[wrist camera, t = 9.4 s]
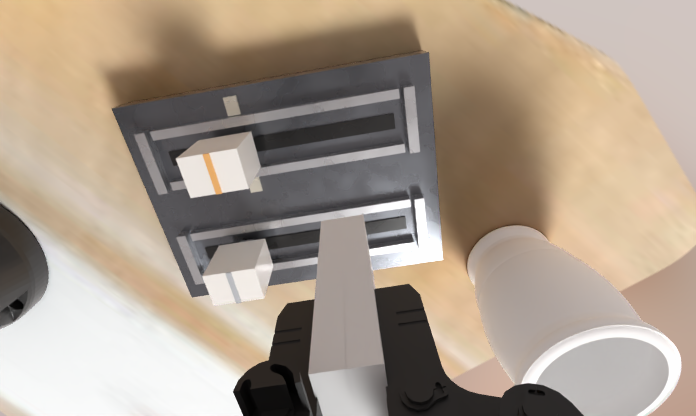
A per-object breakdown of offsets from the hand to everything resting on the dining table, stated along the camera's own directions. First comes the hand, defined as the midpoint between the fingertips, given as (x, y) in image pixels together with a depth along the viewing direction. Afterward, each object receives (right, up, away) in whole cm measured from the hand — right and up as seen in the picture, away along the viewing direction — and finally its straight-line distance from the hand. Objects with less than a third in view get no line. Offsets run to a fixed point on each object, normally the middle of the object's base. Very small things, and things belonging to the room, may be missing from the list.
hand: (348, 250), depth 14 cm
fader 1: (-9, +6, +16) cm, 19 cm away
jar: (+16, -4, +25) cm, 30 cm away
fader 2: (-9, -2, +20) cm, 22 cm away
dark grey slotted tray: (-5, +4, +20) cm, 21 cm away
